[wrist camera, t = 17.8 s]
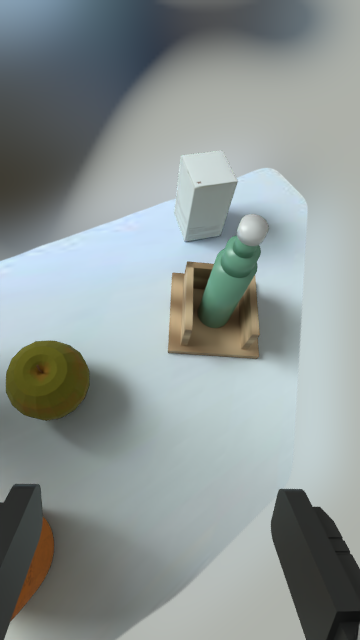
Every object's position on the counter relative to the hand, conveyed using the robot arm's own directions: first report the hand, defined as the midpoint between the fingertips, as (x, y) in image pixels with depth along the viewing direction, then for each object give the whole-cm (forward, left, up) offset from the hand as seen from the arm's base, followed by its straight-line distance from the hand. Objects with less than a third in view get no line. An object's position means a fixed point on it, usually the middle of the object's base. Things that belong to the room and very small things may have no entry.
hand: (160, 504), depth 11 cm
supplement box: (-26, +36, -35) cm, 57 cm away
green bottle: (-10, +24, -34) cm, 43 cm away
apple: (-18, -1, -35) cm, 39 cm away
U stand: (-11, +24, -35) cm, 44 cm away
